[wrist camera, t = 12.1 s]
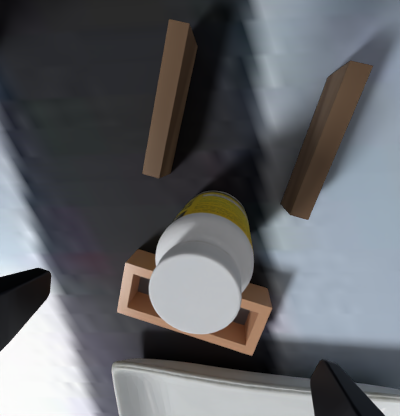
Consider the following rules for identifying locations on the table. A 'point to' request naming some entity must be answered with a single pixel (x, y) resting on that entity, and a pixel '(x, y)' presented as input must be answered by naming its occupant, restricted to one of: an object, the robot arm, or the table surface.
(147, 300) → the trap pit
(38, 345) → the table surface
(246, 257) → the supplement bottle
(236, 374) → the square plate
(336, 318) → the table surface
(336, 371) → the robot arm
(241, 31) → the table surface
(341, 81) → the walled lane
